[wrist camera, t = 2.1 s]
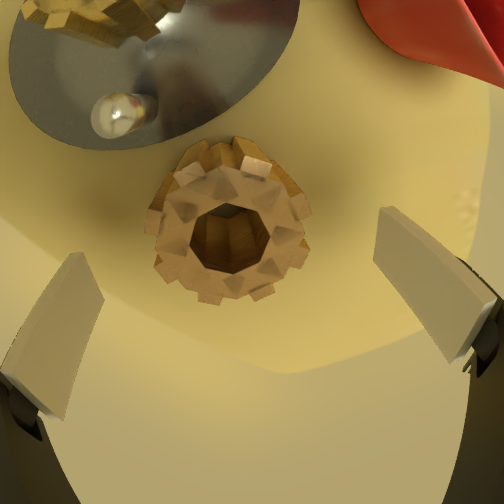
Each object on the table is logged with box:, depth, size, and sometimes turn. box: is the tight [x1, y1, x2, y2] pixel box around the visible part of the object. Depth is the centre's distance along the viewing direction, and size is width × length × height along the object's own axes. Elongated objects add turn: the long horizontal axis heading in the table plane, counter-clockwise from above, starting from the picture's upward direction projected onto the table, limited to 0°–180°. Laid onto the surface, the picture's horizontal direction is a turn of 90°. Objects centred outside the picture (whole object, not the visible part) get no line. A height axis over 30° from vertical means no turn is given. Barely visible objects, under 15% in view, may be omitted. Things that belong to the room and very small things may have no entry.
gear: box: [144, 136, 312, 306], centre depth 14 cm, size 7×7×6 cm
